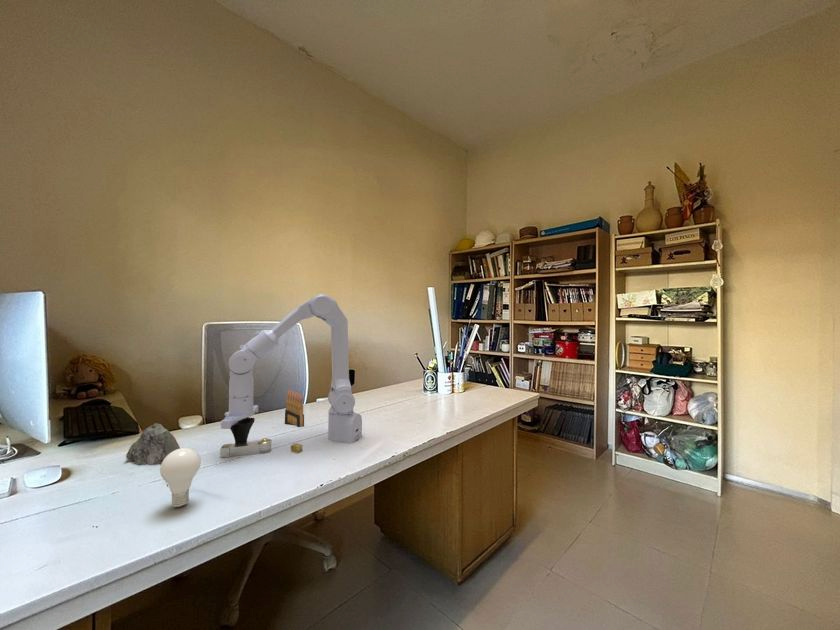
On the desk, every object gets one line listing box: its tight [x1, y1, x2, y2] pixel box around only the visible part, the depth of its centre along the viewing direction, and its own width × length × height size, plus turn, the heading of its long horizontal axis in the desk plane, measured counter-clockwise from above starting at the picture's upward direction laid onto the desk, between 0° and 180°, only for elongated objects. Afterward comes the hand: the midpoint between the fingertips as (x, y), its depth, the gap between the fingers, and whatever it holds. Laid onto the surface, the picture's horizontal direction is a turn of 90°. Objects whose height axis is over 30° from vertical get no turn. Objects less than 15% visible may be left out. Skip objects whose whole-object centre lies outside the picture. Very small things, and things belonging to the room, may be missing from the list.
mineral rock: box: [125, 423, 181, 466], centre depth 83 cm, size 13×11×10 cm
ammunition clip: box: [284, 389, 305, 428], centre depth 111 cm, size 11×2×12 cm, turn 46°
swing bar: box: [219, 437, 272, 459], centre depth 86 cm, size 12×3×3 cm, turn 108°
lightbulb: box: [159, 447, 202, 508], centre depth 64 cm, size 6×6×11 cm
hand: (240, 447), depth 87 cm, fingers closed, pressing on swing bar
